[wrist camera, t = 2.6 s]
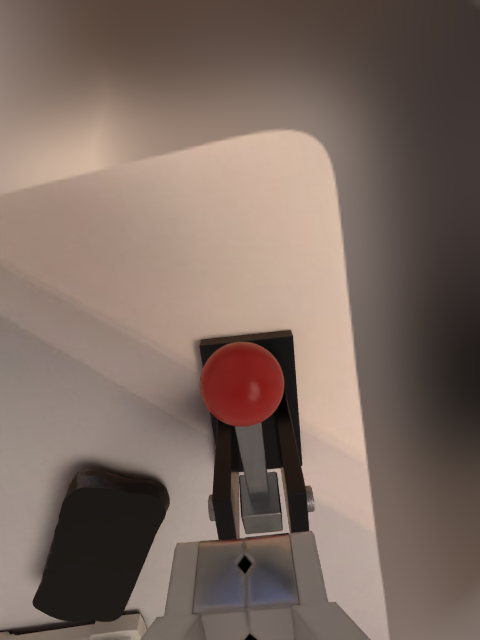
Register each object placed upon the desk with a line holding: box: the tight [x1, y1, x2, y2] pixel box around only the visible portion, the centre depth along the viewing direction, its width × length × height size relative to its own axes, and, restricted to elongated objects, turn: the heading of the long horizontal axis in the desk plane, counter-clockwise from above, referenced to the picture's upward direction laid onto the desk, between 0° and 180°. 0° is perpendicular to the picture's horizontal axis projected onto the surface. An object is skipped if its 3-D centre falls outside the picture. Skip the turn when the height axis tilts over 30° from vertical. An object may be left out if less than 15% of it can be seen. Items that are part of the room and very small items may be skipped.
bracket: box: [200, 330, 314, 540], centre depth 29 cm, size 12×7×13 cm, turn 6°
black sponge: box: [33, 469, 170, 622], centre depth 39 cm, size 16×8×4 cm, turn 159°
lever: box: [200, 342, 284, 534], centre depth 21 cm, size 15×3×3 cm, turn 7°
